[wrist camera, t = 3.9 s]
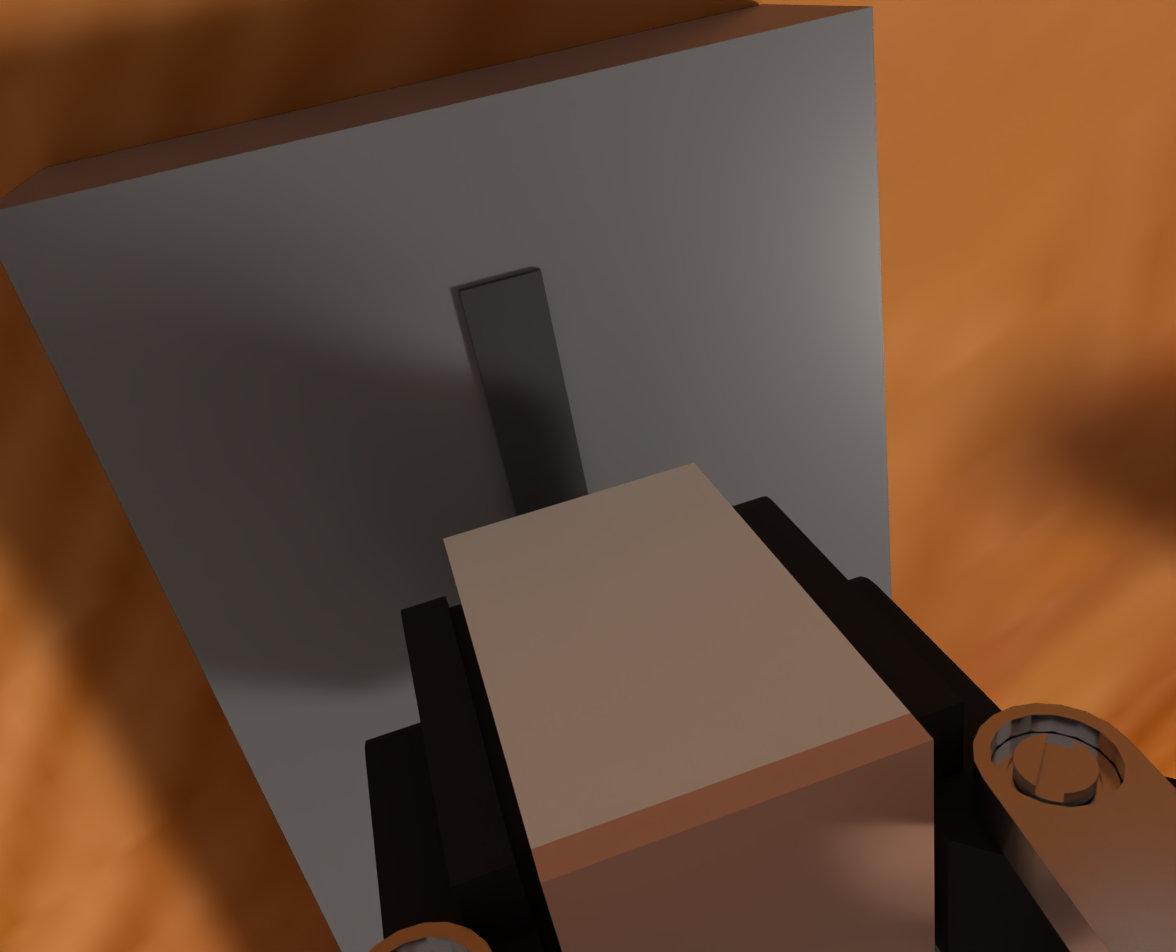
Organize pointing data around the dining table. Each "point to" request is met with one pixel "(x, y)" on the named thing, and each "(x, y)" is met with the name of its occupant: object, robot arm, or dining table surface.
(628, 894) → the fader
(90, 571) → the dining table surface
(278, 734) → the console
